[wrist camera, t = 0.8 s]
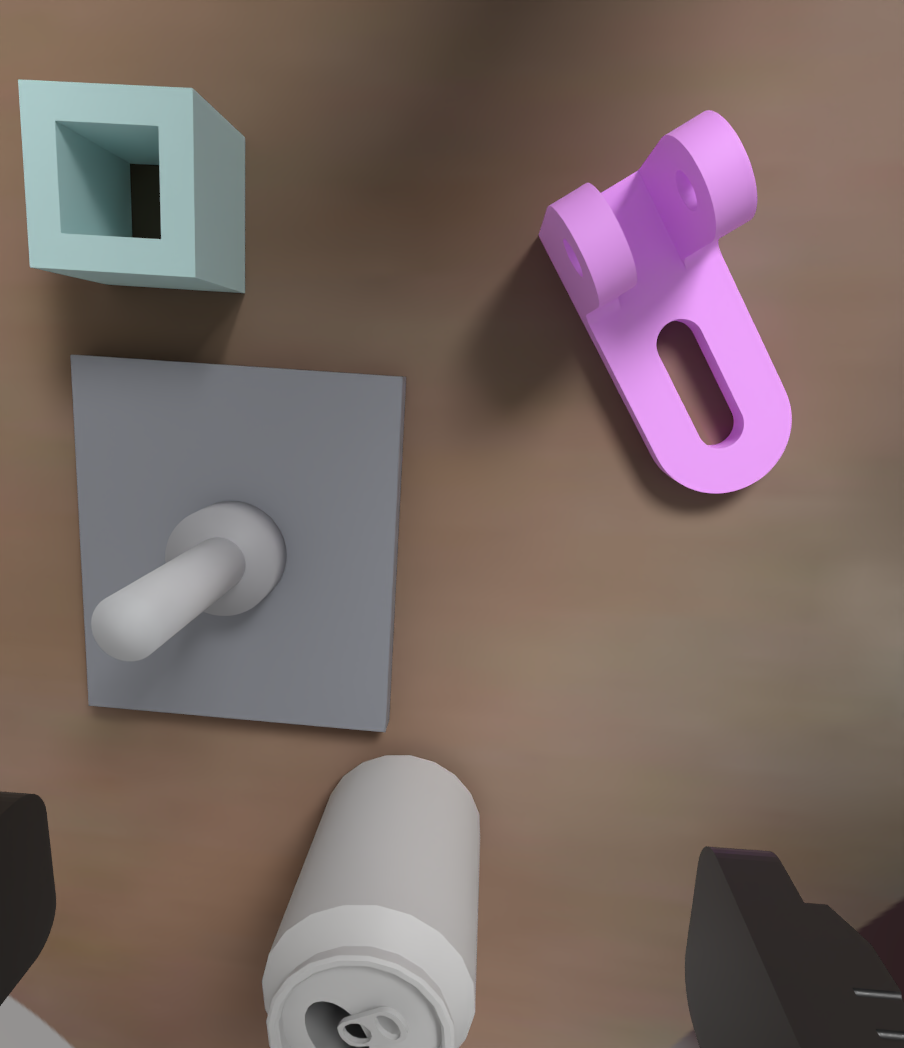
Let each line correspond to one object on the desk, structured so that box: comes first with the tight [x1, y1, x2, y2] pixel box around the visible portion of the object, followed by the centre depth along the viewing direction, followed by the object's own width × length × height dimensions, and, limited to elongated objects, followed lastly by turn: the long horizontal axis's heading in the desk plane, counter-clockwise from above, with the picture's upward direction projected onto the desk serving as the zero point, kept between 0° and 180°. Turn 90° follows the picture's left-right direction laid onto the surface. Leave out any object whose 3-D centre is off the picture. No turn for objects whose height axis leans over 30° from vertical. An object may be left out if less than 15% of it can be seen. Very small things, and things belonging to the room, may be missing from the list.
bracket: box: [538, 110, 792, 493], centre depth 26 cm, size 13×6×7 cm, turn 29°
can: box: [262, 755, 480, 1048], centre depth 28 cm, size 8×8×12 cm
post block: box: [71, 355, 406, 732], centre depth 27 cm, size 16×14×10 cm
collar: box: [18, 80, 245, 293], centre depth 26 cm, size 6×6×5 cm
